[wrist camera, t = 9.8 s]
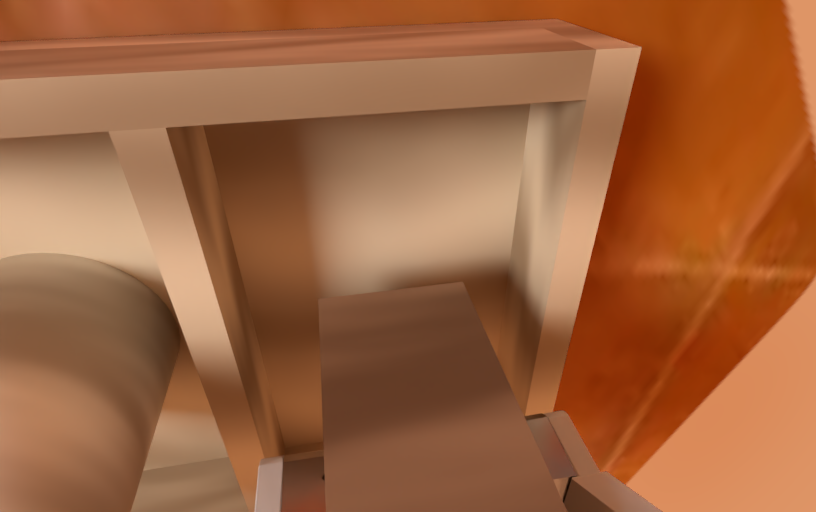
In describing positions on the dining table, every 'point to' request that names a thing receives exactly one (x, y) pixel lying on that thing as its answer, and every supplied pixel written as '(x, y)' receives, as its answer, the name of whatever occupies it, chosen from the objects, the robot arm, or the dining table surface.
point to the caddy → (273, 233)
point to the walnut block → (422, 409)
